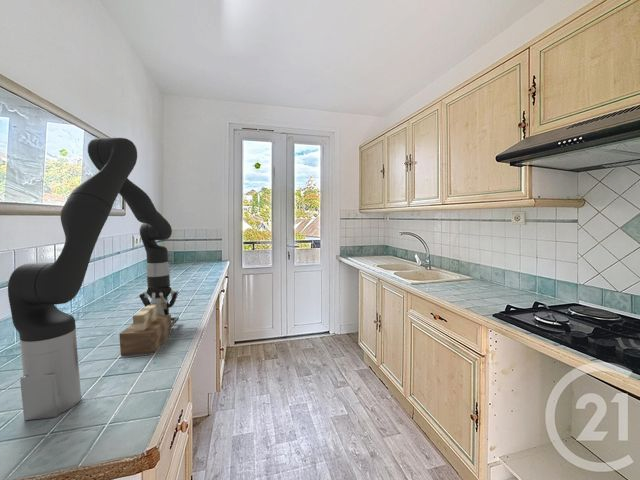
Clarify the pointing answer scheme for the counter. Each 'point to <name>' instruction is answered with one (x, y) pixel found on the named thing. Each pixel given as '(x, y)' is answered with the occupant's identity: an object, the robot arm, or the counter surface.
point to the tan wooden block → (147, 322)
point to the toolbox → (145, 341)
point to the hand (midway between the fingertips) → (160, 318)
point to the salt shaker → (159, 306)
